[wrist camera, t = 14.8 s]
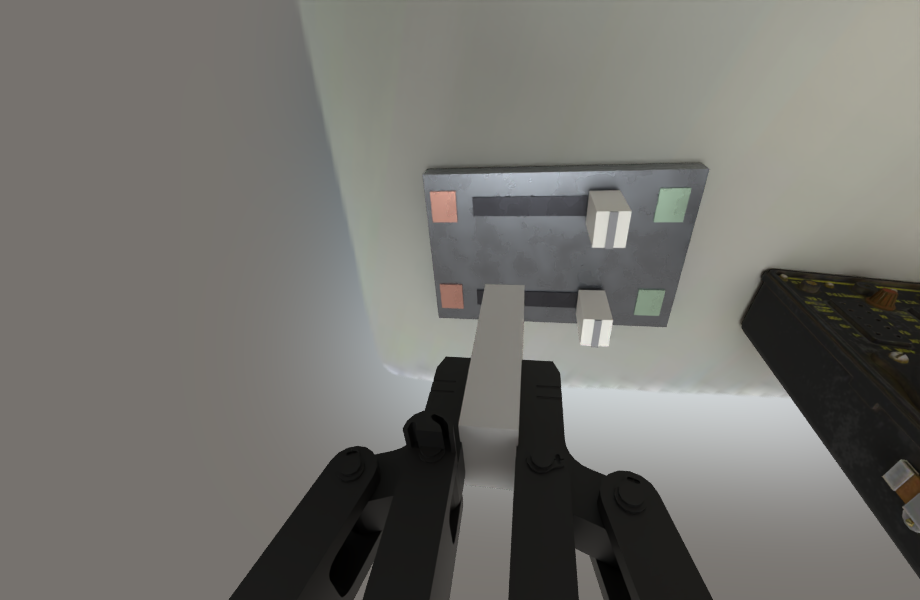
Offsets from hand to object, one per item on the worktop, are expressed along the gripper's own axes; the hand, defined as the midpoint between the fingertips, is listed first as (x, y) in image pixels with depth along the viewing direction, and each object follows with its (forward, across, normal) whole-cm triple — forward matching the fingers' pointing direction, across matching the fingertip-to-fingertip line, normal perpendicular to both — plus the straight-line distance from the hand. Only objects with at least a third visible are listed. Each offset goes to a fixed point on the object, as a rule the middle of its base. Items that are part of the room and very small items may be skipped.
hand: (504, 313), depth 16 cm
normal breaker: (+22, +7, -4) cm, 23 cm away
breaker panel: (+24, +3, -10) cm, 26 cm away
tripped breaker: (+21, +7, -14) cm, 27 cm away
